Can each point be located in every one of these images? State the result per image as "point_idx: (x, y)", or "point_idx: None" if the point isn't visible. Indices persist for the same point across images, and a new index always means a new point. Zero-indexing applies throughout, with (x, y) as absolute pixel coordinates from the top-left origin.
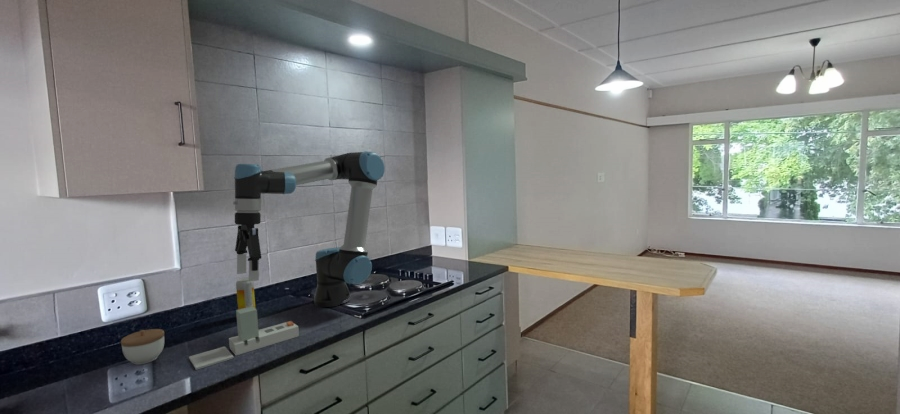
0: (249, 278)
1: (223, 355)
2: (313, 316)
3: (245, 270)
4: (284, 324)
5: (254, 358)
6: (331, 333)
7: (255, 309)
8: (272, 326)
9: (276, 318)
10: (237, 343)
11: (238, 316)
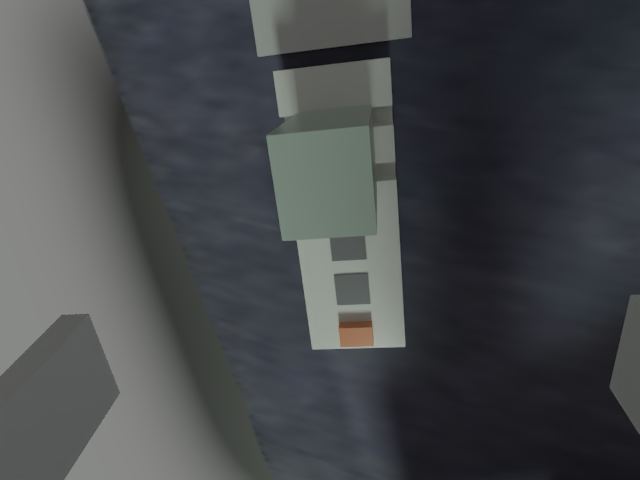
0: (39, 338)
1: (298, 16)
2: (494, 431)
3: (631, 408)
4: (379, 315)
5: (207, 132)
6: (265, 410)
7: (292, 235)
8: (394, 268)
9: (615, 318)
10: (283, 85)
11: (318, 126)
